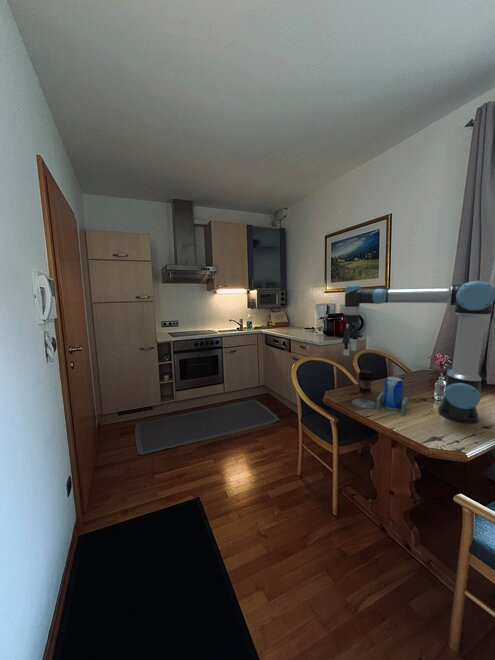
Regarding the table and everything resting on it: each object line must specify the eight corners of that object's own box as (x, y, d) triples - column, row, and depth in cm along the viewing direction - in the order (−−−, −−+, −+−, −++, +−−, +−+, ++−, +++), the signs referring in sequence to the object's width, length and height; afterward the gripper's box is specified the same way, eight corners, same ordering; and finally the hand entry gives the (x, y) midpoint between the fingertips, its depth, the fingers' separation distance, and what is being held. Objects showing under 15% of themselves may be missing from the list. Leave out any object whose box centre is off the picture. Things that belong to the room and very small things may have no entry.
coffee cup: (374, 395, 153) (375, 374, 151) (359, 394, 155) (360, 373, 153) (370, 389, 161) (371, 369, 160) (356, 389, 163) (357, 369, 161)
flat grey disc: (378, 403, 142) (378, 402, 142) (373, 411, 132) (373, 410, 132) (355, 398, 149) (355, 397, 149) (349, 405, 140) (349, 404, 140)
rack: (407, 407, 137) (408, 396, 136) (403, 416, 127) (404, 404, 126) (381, 401, 144) (382, 391, 143) (376, 409, 134) (376, 398, 133)
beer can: (397, 412, 131) (399, 382, 128) (380, 407, 137) (382, 378, 135) (404, 408, 136) (406, 378, 134) (387, 402, 142) (389, 374, 140)
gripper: (351, 312, 151) (349, 348, 154) (336, 315, 132) (335, 356, 135) (364, 313, 147) (363, 349, 150) (352, 316, 127) (350, 358, 130)
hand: (350, 352), depth 142 cm, fingers open, 13 cm apart
